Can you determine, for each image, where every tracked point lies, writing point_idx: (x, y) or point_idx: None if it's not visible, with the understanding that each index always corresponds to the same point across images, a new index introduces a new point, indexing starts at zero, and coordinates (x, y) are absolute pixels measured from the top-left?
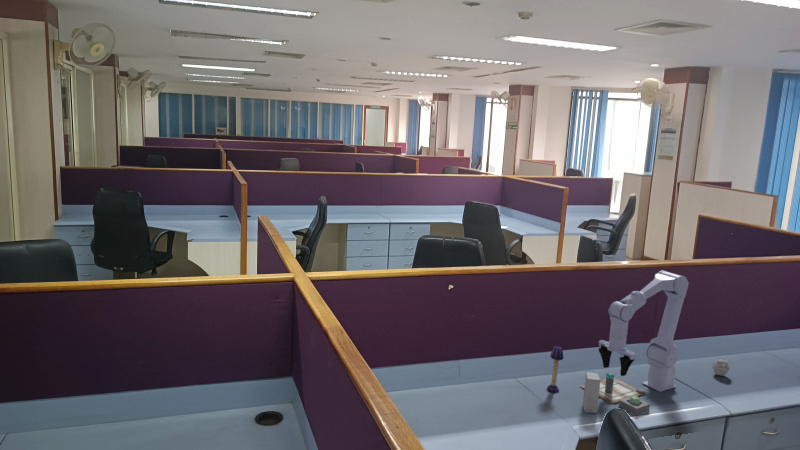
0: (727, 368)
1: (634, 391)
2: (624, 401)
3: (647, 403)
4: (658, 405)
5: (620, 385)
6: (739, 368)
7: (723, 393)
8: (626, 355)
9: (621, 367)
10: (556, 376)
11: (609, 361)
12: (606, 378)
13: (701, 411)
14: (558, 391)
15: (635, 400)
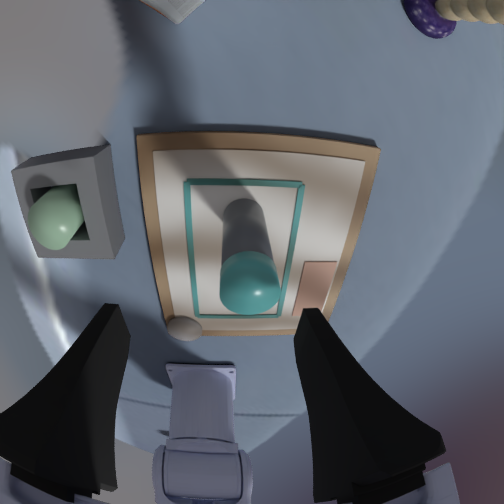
0: None
1: (191, 313)
2: (70, 168)
3: (43, 254)
4: (85, 298)
5: None
6: None
7: (128, 414)
8: (57, 499)
9: (77, 367)
10: (474, 2)
11: (302, 384)
12: (262, 250)
13: (52, 346)
14: (406, 10)
15: (30, 208)
